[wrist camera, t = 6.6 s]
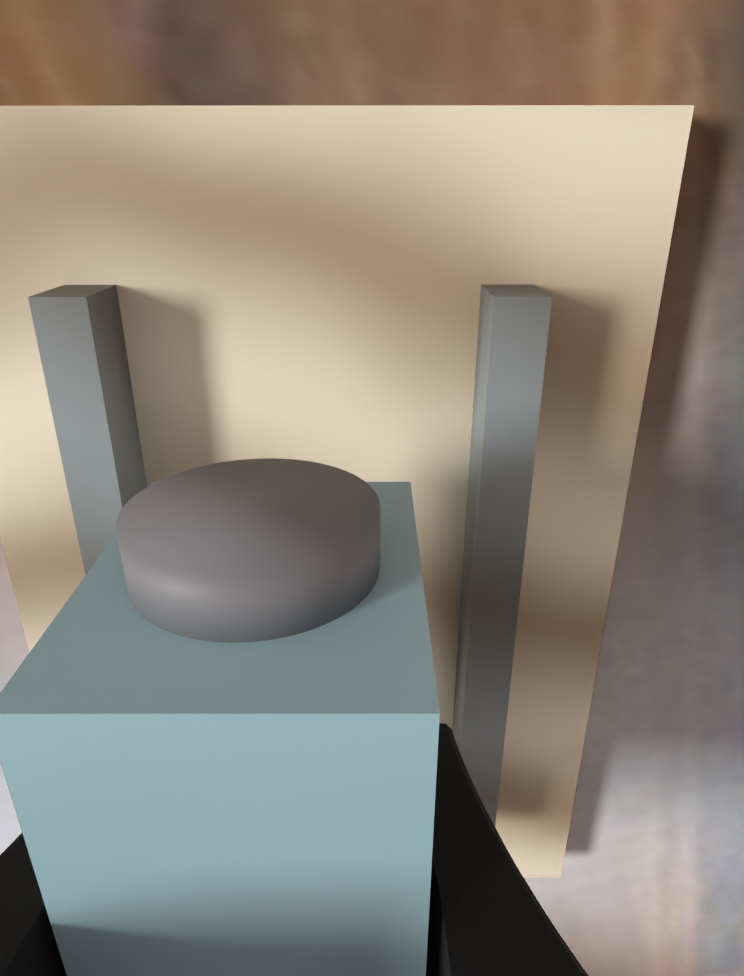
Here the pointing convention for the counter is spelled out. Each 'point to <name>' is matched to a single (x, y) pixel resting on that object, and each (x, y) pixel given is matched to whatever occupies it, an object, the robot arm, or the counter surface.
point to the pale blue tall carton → (236, 733)
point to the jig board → (354, 363)
